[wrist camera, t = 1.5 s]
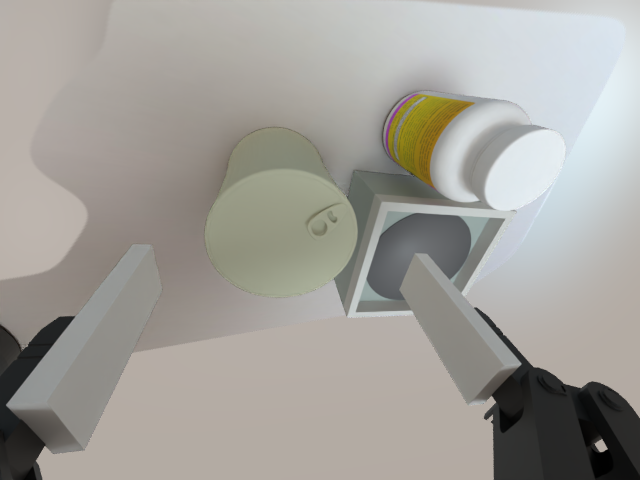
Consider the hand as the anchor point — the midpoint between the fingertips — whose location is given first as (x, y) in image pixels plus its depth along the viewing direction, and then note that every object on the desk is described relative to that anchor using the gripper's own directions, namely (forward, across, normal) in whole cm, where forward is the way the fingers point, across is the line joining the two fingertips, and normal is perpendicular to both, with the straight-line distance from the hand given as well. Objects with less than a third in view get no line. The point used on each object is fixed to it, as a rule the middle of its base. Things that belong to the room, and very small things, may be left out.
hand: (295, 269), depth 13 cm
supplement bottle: (+14, +12, +6) cm, 20 cm away
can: (+14, 0, 0) cm, 14 cm away
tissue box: (+14, +14, -5) cm, 20 cm away
